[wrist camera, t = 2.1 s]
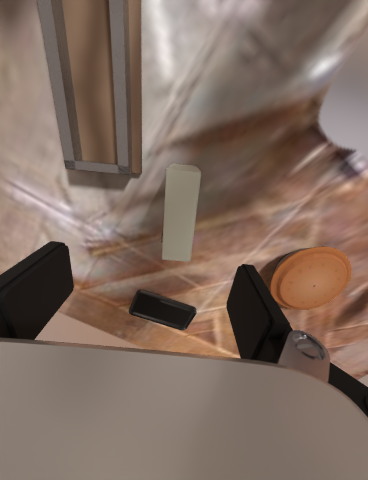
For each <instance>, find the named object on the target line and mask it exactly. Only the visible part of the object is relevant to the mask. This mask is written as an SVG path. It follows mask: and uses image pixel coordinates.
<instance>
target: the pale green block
mask: <svg viewBox="0 0 368 480" xmlns="http://www.w3.org/2000/svg"><path fill="white" fill-rule="evenodd" d="M200 180H201V171H200V170H199V169H198V168H197V166H194V165H184V164H175V163H172V164H171V165H170V166H169V167H168V168H167V169H166V186H165V207H164V227H163V232H162V241H161V243H163V247H162V260H174V261H186V262H190V259H191V251H192V243H193V235H194V227H195V219H196V211H197V204H198V196H199V188H200Z"/></svg>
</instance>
